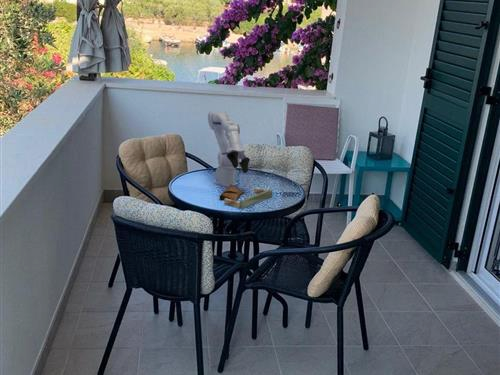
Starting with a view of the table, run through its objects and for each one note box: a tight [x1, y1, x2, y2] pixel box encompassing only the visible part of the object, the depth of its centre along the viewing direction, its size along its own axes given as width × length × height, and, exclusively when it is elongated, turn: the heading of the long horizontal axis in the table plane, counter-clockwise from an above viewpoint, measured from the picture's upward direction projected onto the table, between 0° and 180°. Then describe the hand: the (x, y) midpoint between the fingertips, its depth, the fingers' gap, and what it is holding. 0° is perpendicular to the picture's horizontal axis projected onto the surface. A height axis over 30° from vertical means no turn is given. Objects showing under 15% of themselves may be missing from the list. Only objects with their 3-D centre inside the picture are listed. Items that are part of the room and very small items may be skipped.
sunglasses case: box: [219, 184, 245, 202], centre depth 271 cm, size 18×7×7 cm
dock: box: [223, 187, 274, 210], centre depth 266 cm, size 10×25×4 cm, turn 146°
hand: (241, 169), depth 268 cm, fingers open, 7 cm apart
